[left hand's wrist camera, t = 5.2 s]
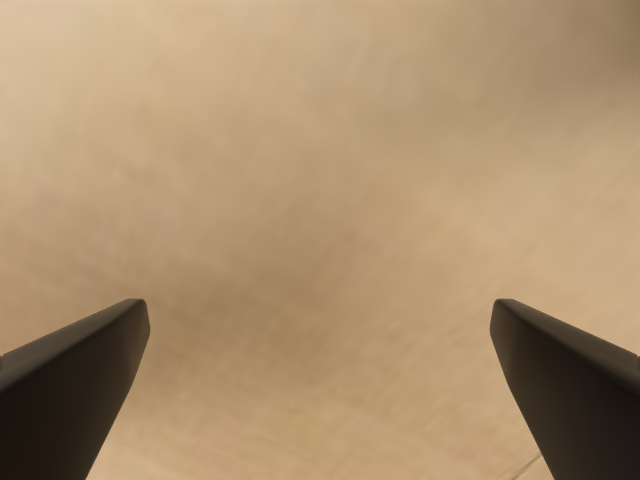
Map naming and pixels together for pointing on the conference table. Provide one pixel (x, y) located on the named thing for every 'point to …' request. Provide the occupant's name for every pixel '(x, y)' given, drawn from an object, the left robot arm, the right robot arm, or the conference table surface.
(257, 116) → the conference table surface
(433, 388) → the conference table surface
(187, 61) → the conference table surface
